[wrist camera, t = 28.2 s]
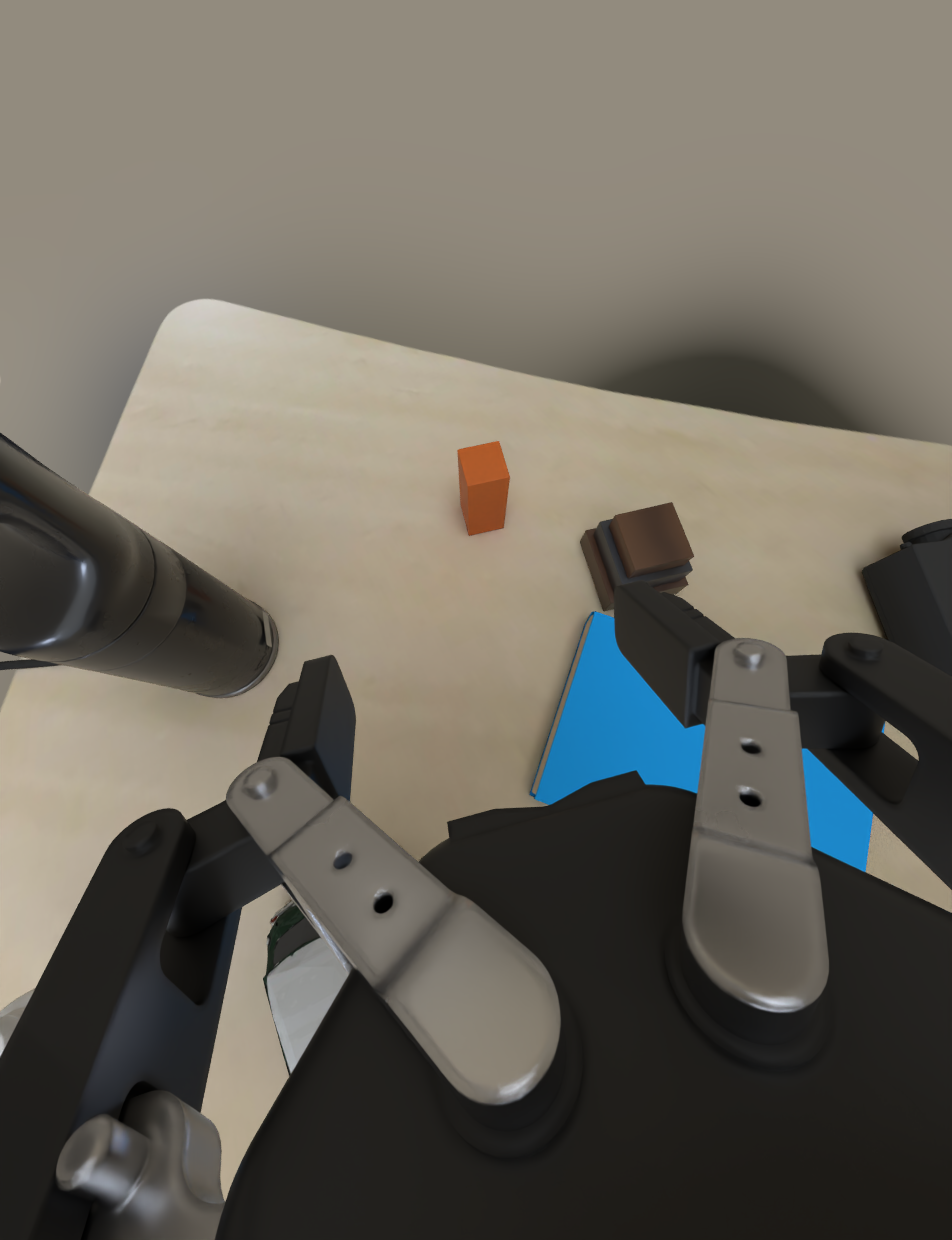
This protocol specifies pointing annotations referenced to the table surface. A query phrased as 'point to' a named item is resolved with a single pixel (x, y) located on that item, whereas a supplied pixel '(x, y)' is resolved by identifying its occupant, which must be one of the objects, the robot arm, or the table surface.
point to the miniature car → (299, 980)
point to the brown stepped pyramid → (638, 552)
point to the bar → (483, 487)
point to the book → (663, 745)
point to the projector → (917, 593)
